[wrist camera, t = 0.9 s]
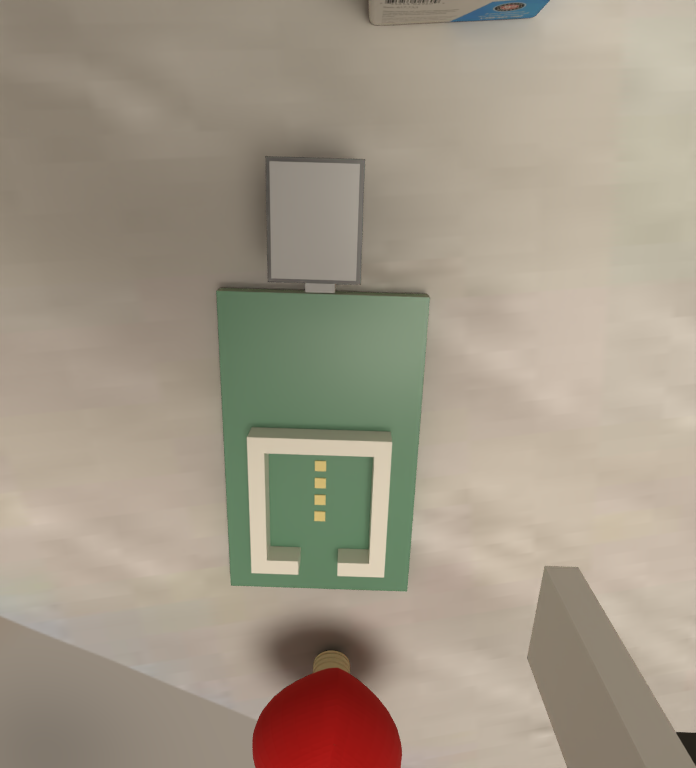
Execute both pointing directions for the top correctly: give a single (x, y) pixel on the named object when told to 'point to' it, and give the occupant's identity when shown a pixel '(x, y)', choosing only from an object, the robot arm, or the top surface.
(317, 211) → the plug
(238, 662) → the top surface
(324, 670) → the light bulb
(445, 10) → the ink box
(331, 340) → the board
